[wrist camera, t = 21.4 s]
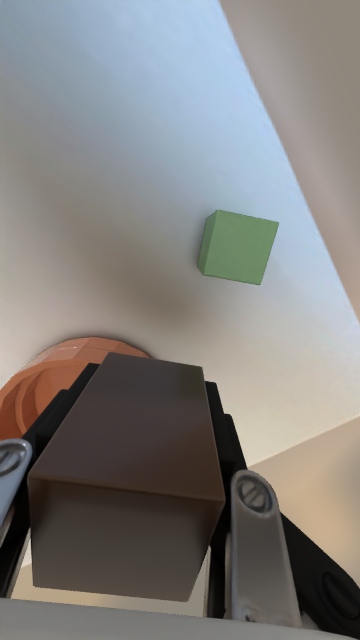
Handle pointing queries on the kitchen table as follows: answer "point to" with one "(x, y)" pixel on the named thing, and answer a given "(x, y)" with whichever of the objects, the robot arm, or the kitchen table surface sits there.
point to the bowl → (50, 380)
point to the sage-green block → (236, 246)
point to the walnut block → (128, 484)
